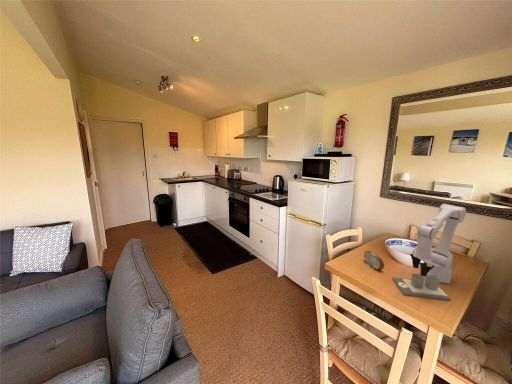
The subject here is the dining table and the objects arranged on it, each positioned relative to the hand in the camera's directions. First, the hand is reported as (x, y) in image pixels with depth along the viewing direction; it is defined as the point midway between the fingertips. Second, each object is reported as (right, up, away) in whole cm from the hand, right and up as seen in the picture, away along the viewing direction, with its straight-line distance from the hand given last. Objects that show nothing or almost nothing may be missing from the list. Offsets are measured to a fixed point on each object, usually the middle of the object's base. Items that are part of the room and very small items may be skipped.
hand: (419, 271), depth 113 cm
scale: (+1, -10, +2) cm, 11 cm away
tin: (-12, -6, +24) cm, 27 cm away
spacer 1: (0, -8, +2) cm, 9 cm away
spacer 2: (+7, -9, +1) cm, 11 cm away
